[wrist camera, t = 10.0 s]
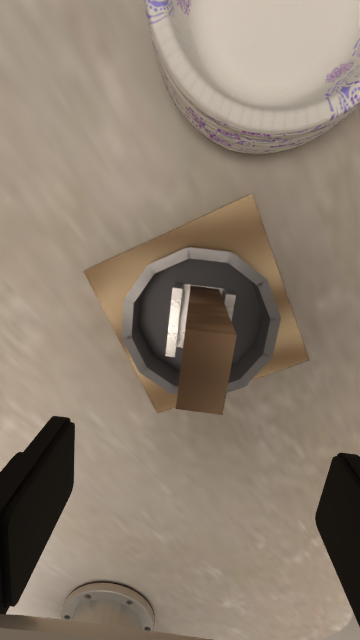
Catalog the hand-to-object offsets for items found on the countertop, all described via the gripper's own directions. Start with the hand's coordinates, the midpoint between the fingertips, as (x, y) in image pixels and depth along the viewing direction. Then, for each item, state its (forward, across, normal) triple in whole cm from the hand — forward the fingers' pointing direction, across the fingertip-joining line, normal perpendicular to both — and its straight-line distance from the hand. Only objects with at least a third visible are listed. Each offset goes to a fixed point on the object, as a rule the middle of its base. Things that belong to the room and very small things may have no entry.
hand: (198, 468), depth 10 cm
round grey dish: (+18, 0, -1) cm, 18 cm away
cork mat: (+18, 0, -1) cm, 18 cm away
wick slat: (+17, 0, -2) cm, 17 cm away
